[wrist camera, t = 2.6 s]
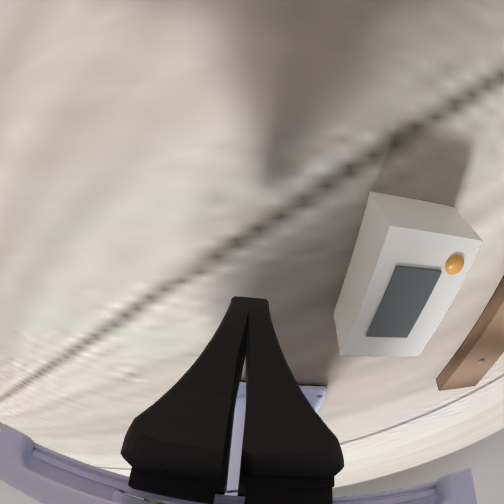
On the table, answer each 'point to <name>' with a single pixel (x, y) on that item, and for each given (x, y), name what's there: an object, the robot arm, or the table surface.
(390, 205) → the box
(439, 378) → the batten
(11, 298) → the table surface
